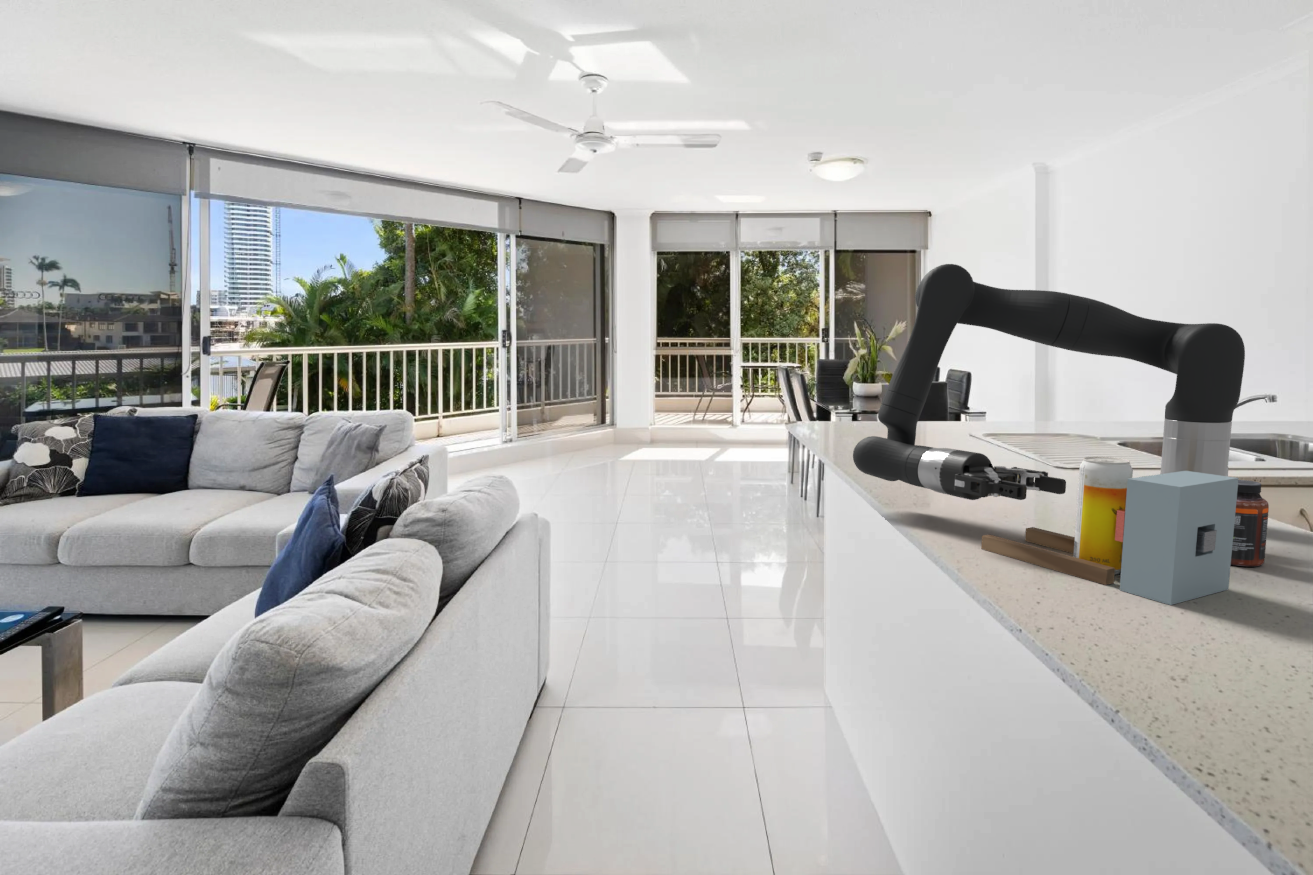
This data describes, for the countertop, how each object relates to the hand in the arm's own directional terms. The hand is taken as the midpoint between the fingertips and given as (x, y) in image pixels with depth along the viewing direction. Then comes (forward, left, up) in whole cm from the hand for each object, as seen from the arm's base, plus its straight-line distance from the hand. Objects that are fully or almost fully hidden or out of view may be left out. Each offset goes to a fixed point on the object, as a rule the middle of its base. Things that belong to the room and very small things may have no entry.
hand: (1045, 489), depth 108 cm
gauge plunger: (0, +17, -4) cm, 17 cm away
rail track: (0, +4, -9) cm, 10 cm away
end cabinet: (0, +18, -9) cm, 20 cm away
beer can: (0, +9, -10) cm, 13 cm away
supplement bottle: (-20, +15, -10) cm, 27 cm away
